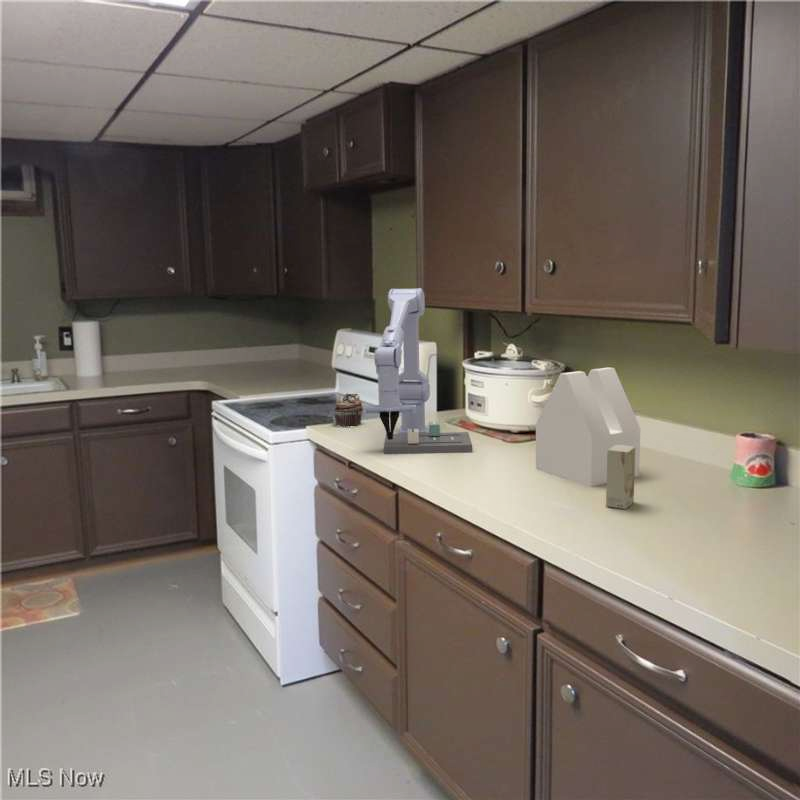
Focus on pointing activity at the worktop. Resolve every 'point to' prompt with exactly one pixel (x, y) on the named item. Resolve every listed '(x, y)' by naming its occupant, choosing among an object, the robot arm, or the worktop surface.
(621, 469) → the skincare box
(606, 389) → the grey house shaped holder
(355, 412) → the cupcake
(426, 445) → the console
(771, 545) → the worktop surface
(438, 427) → the teal fader
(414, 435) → the ivory fader
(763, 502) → the worktop surface
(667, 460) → the worktop surface
